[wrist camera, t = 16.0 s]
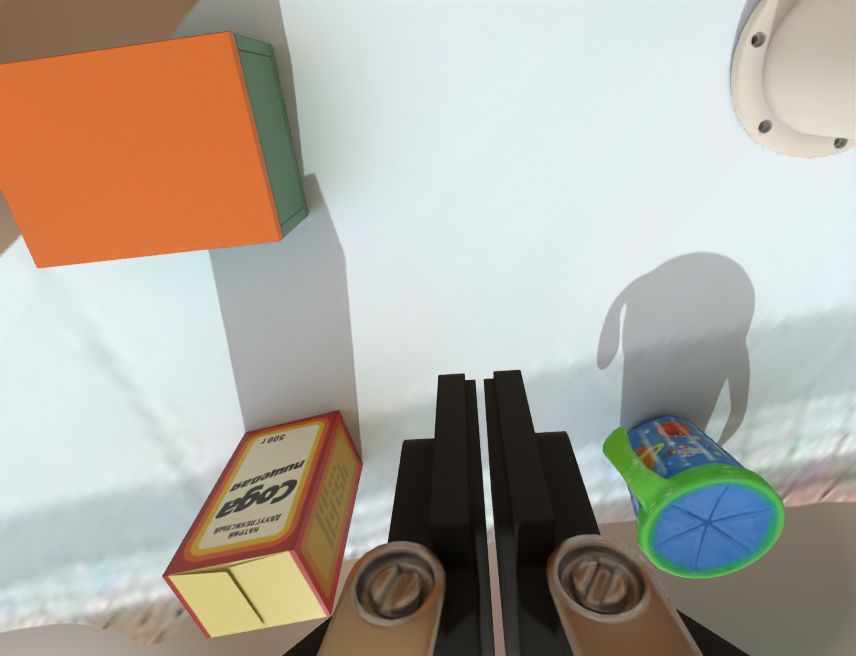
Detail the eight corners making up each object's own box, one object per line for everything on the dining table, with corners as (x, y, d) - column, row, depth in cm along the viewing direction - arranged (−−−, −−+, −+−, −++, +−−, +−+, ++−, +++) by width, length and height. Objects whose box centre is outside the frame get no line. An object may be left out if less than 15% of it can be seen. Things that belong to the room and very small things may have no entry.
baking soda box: (338, 410, 46) (292, 554, 32) (362, 464, 49) (329, 621, 34) (245, 433, 48) (159, 581, 33) (273, 484, 50) (204, 643, 36)
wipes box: (116, 237, 40) (56, 263, 34) (53, 74, 35) (-29, 70, 29) (308, 215, 39) (283, 237, 33) (271, 44, 34) (234, 32, 28)
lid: (45, 265, 34) (36, 268, 33) (-42, 72, 29) (-54, 71, 28) (283, 238, 33) (279, 241, 32) (233, 32, 28) (228, 30, 27)
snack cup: (758, 455, 47) (835, 542, 38) (669, 518, 51) (720, 612, 42) (648, 361, 43) (705, 433, 34) (560, 437, 47) (589, 521, 38)
